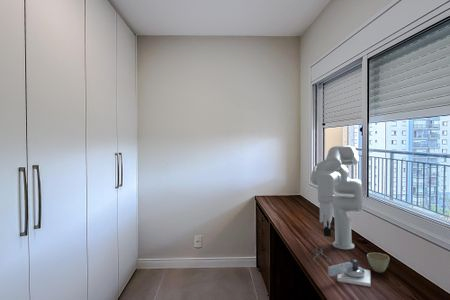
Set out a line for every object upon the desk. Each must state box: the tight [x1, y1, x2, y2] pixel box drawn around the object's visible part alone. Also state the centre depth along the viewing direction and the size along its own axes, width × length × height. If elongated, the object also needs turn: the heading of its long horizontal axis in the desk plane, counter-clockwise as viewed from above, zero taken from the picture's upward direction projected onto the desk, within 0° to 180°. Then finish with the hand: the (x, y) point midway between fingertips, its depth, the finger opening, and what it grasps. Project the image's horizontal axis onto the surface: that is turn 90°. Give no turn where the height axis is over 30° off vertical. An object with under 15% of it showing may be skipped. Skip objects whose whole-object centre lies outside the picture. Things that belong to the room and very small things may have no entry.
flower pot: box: [366, 252, 390, 273], centre depth 144 cm, size 10×10×7 cm
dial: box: [327, 258, 365, 278], centre depth 137 cm, size 20×9×6 cm, turn 110°
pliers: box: [312, 247, 332, 263], centre depth 165 cm, size 10×1×20 cm
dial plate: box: [336, 268, 371, 287], centre depth 138 cm, size 14×14×2 cm
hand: (327, 235), depth 138 cm, fingers closed
